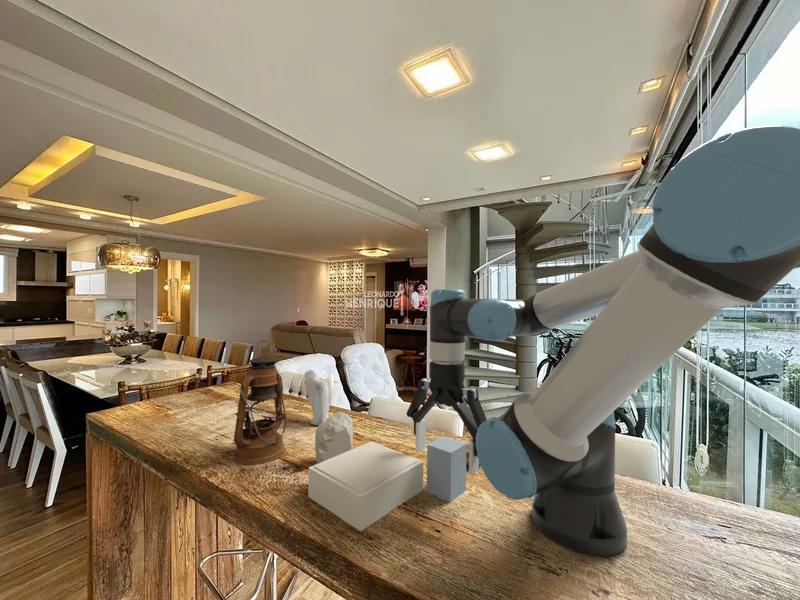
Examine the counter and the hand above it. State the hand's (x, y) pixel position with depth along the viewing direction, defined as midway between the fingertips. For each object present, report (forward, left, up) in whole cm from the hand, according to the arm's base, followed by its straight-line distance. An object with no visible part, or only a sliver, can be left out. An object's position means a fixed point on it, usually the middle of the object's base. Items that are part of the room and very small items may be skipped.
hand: (445, 459), depth 73 cm
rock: (+6, -14, -7) cm, 17 cm away
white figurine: (+54, -6, -7) cm, 54 cm away
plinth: (+12, +12, -6) cm, 18 cm away
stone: (+29, +7, -7) cm, 30 cm away
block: (0, 0, -7) cm, 7 cm away
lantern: (+47, +18, -7) cm, 51 cm away
